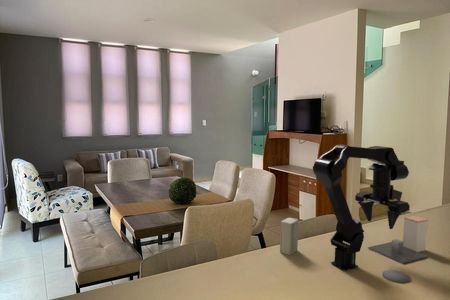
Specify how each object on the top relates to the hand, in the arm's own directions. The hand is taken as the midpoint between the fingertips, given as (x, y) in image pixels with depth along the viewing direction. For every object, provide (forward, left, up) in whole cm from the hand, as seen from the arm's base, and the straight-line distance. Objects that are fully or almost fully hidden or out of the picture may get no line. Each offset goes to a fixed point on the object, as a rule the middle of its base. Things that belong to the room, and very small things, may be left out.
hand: (380, 224), depth 125 cm
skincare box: (-26, +18, -12) cm, 34 cm away
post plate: (+10, 0, -12) cm, 16 cm away
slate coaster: (-7, -13, -12) cm, 19 cm away
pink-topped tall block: (+19, 0, -12) cm, 23 cm away
